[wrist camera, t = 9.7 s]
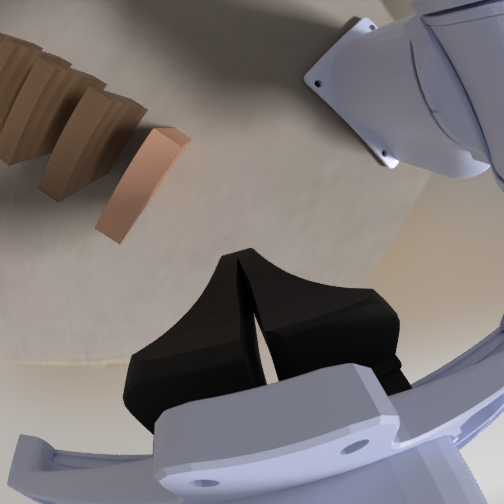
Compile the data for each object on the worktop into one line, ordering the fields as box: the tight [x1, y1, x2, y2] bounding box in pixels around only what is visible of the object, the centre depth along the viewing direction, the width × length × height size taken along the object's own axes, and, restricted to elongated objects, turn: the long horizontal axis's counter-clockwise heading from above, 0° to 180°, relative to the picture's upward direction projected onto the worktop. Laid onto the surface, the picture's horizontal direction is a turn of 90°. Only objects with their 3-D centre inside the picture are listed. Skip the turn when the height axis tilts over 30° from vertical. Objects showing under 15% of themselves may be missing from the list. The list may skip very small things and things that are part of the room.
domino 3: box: [38, 87, 148, 202], centre depth 12 cm, size 1×5×7 cm, turn 141°
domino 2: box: [0, 58, 107, 166], centre depth 11 cm, size 1×5×7 cm, turn 142°
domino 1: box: [0, 39, 72, 131], centre depth 10 cm, size 1×5×7 cm, turn 141°
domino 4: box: [95, 128, 192, 244], centre depth 14 cm, size 1×5×7 cm, turn 141°
